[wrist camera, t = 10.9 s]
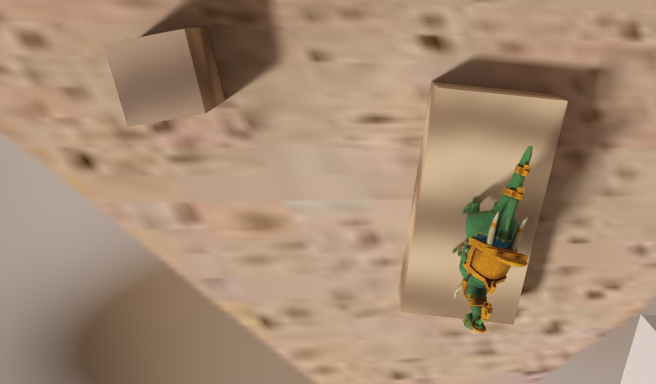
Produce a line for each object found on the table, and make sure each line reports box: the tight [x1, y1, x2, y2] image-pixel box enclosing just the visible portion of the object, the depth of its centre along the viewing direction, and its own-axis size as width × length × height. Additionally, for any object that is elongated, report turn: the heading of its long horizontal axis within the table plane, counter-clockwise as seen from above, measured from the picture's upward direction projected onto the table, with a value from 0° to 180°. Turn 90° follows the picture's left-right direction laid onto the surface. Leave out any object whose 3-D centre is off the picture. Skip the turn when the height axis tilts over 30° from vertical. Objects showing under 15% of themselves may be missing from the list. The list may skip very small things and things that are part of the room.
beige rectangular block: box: [399, 81, 568, 325], centre depth 37 cm, size 16×8×3 cm, turn 175°
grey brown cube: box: [103, 26, 225, 127], centre depth 34 cm, size 5×5×5 cm
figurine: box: [452, 146, 533, 333], centre depth 31 cm, size 3×12×8 cm, turn 169°
